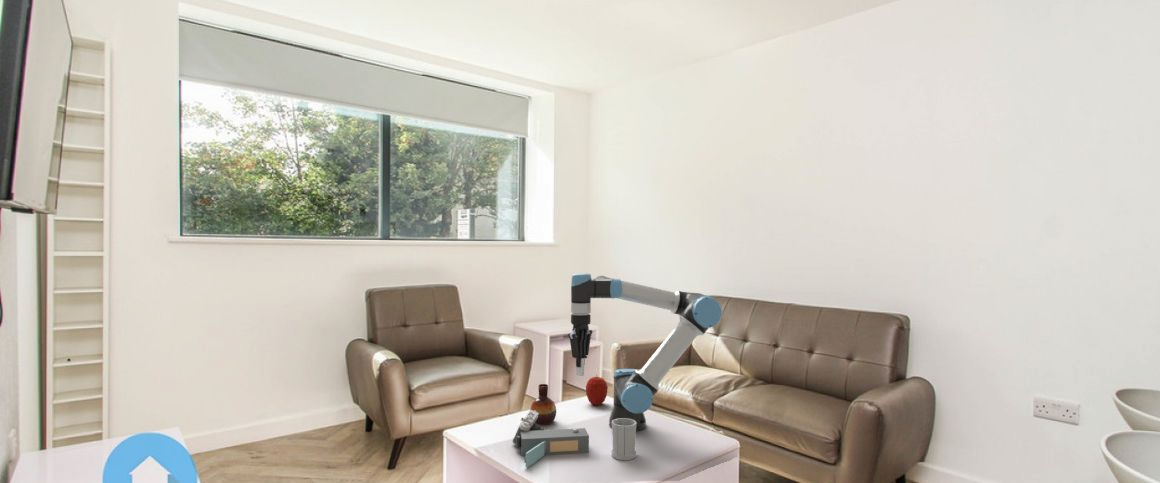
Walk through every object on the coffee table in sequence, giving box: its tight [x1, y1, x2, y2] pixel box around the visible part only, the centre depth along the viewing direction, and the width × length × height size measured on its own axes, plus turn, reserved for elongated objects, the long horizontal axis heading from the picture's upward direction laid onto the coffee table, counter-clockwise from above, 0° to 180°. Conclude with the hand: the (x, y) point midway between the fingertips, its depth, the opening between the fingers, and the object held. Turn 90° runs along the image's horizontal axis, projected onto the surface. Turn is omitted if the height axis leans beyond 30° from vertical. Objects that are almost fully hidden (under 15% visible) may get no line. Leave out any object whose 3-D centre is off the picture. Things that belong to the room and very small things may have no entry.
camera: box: [511, 409, 545, 446], centre depth 211 cm, size 9×16×10 cm, turn 170°
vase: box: [529, 383, 557, 426], centre depth 231 cm, size 11×11×15 cm
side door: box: [524, 441, 547, 468], centre depth 191 cm, size 13×1×5 cm, turn 154°
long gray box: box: [515, 427, 590, 457], centre depth 201 cm, size 26×8×7 cm, turn 100°
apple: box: [585, 374, 609, 407], centre depth 257 cm, size 10×10×14 cm
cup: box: [610, 418, 637, 461], centre depth 197 cm, size 10×9×12 cm
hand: (580, 375), depth 213 cm, fingers closed
